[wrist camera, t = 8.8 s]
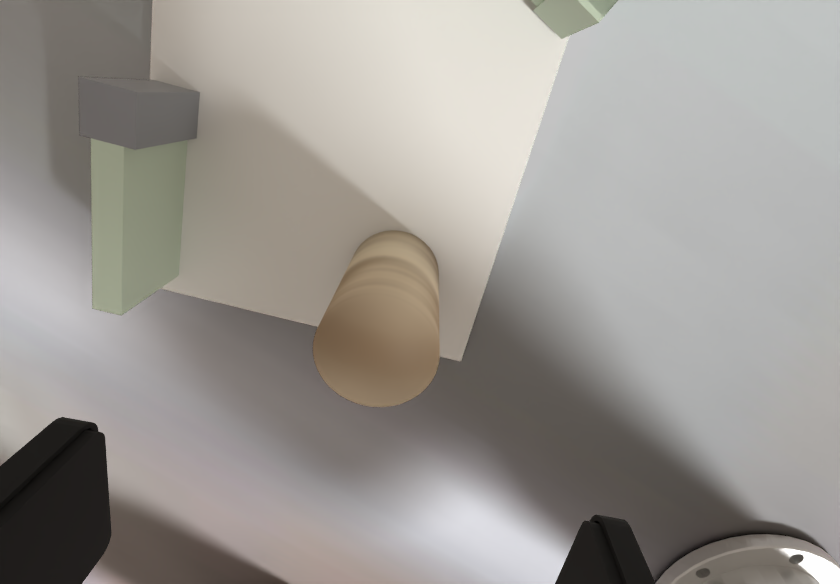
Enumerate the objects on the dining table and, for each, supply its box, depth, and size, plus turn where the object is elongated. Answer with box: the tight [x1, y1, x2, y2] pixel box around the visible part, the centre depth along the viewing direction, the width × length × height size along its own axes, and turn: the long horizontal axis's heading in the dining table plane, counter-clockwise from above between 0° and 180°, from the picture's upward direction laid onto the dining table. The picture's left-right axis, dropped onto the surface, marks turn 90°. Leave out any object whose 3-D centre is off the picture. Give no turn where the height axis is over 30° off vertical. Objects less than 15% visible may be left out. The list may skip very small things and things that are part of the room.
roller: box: [313, 230, 440, 407], centre depth 20 cm, size 4×4×8 cm
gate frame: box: [78, 0, 569, 362], centre depth 18 cm, size 27×17×5 cm, turn 166°
